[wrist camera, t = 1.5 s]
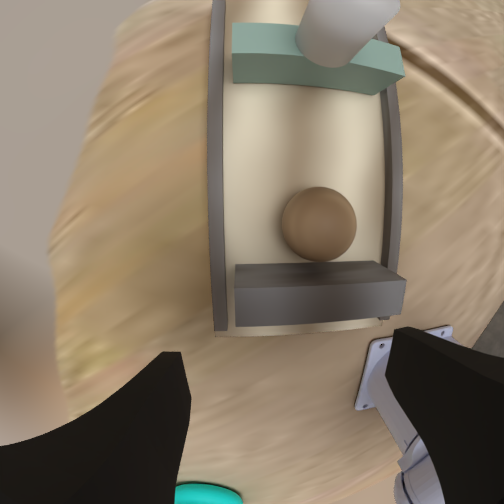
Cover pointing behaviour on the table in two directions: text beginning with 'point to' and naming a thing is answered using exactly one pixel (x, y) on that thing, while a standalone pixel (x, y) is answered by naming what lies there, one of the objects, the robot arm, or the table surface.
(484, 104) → the table surface
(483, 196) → the table surface
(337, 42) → the sliding jaw
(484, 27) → the table surface
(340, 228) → the walnut
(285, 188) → the base
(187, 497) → the donuts
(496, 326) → the hip flask
